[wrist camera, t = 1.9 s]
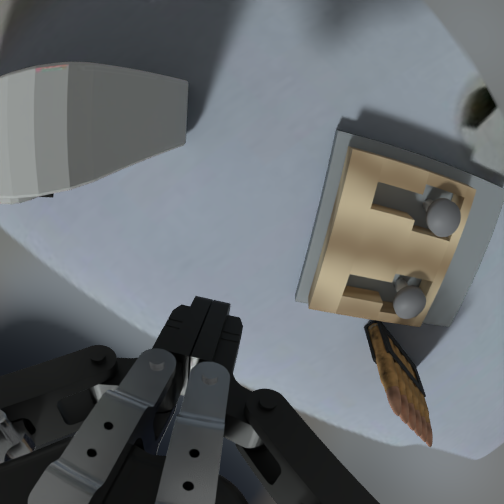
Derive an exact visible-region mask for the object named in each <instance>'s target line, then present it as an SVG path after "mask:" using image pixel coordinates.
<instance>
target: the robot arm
mask: <svg viewBox="0 0 504 504" xmlns="http://www.w3.org/2000/svg"><path fill="white" fill-rule="evenodd" d="M229 311H230V303H225V302H221V301H216V300H212V299H207V298H203V297H198V296H196V297H195V298H194V300H193V302H192V304H191V306H186V305H180V306H179V307H177V308H176V309H174V310H173V311H172V313H171V315H170V317H169V319H168V320H167V322H166V324H165V326H164V327H163V329H162V331H161V333H160V335H159V337H158V338H157V340H156V342H155V344H154V346H153V348H152V349H149V350H146V351H144V352H143V353H141V355H140V356H139V357H138V358H116V354H115V352H114V351H113V350H112V349H110V348H109V347H107V346H103V345H95V346H90V347H88V348H85V349H82V350H79V351H76V352H73V353H70V354H67V355H65V356H61V357H58V358H55V359H52V360H50V361H46V362H43V363H40V364H38V365H34V366H31V367H28V368H25V369H22V370H19V371H16V372H13V373H9V374H6V375H3V376H0V504H248V502H247V501H246V499H245V497H244V496H243V494H242V493H241V492H240V491H239V489H238V488H237V487H236V486H235V485H234V484H232V483H231V482H230V481H229V480H227V479H226V478H224V477H223V476H221V475H219V467H220V459H221V451H222V443H223V437H225V438H227V439H229V440H231V441H233V442H235V443H236V447H237V449H238V450H239V452H240V453H241V455H242V456H243V458H244V459H245V461H246V462H247V463H248V465H249V466H250V468H251V469H252V471H253V472H254V473H255V475H256V476H257V478H258V479H259V480H260V482H261V483H262V485H263V486H264V487H265V489H266V490H267V491H268V492H269V494H270V495H271V497H272V498H273V499H274V501H275V502H276V503H277V504H380V503H379V502H378V501H377V500H376V499H375V498H374V497H373V496H372V495H371V494H370V493H369V492H368V491H367V490H366V489H365V488H364V487H363V486H362V485H361V484H360V483H359V482H358V481H357V479H356V478H355V477H354V476H353V475H352V474H351V473H350V472H349V471H348V470H347V469H346V468H345V467H344V466H343V465H342V463H340V461H339V460H338V459H337V458H336V457H335V456H334V455H333V454H332V452H331V451H330V450H329V449H328V448H327V447H326V446H325V445H324V444H323V442H322V441H321V440H320V439H319V438H318V437H317V436H316V435H315V433H314V432H313V431H312V430H311V429H310V427H309V426H308V425H307V424H306V423H305V422H304V420H303V419H302V418H301V417H300V416H299V415H298V413H297V412H296V411H295V410H294V409H293V407H292V406H291V405H290V404H289V403H288V401H287V400H286V399H285V398H284V397H283V396H282V395H281V394H280V393H278V392H276V391H274V390H271V389H258V390H255V391H253V392H252V391H250V390H248V389H246V388H244V387H243V386H241V385H240V384H239V383H238V382H237V381H236V380H235V378H234V376H233V371H234V367H235V362H236V358H237V354H238V349H239V344H240V339H241V334H242V329H243V325H242V322H241V319H240V318H239V317H234V316H230V315H229ZM85 389H86V390H85ZM83 390H84V391H83ZM80 391H81V392H80ZM75 393H76V394H75ZM72 394H73V395H72ZM69 395H70V396H69ZM180 395H184V399H183V403H182V407H181V411H180V414H179V415H177V417H176V420H175V424H174V428H173V432H172V436H171V440H170V444H169V448H168V452H167V456H159V455H157V450H158V446H159V444H160V441H161V439H162V437H163V435H164V433H165V431H166V429H167V427H168V425H169V423H170V420H171V419H172V416H173V414H174V412H175V410H176V404H177V401H178V399H179V396H180ZM67 396H68V397H67ZM64 397H65V398H64ZM76 431H77V433H76V434H75V436H72V437H68V438H65V439H63V440H60V441H58V442H55V443H53V444H51V445H48V446H46V447H43V448H41V449H38V450H36V451H34V450H35V447H36V446H39V445H42V444H44V443H47V442H50V441H53V440H55V439H58V438H61V437H63V436H66V435H69V434H71V433H74V432H76Z"/></svg>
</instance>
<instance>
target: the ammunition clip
mask: <svg viewBox="0 0 504 504" xmlns="http://www.w3.org/2000/svg"><path fill="white" fill-rule="evenodd" d="M364 329H365V332H366V336H367V340H368V343H369V347H370V351H371V354H372V358H373V361H374V362H375V363H376V364H377V367H378V371H379V375H380V379H381V382H382V384H383V386H384V388H385V392H386V394H387V398H388V401H389V404H390V406H391V408H392V410H393V412H394V413H395V414H396V415H397V416H400V418H401V419H402V421H403V422H404V423H405V424H408V426H409V427H410V429H411V430H414V432H415V433H416V434H417V435H418V436H420V437H421V439H422V440H423V441H424V442H426V444H427V445H428V446H429V447H431V446H432V438H433V437H432V429H431V425H430V419H429V411H428V408H427V404H426V401H425V398H424V397H426V395H425V392H424V389H423V386H422V383H421V380H420V377H419V374H418V371H417V369H416V366H415V365H414V364H413V362H412V361H411V360H410V358H409V357H408V356H407V354H406V353H405V352H404V350H403V349H402V348H401V347H400V345H399V344H398V343H397V341H396V340H395V339H394V337H393V336H392V335H391V334H390V332H389V331H388V330H387V329H386V327H385V326H384V325H383V323H382V322H381V321H377V320H374V321H373V322H371V323H370V324H368V325H366V326H365V327H364Z"/></svg>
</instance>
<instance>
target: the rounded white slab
mask: <svg viewBox="0 0 504 504" xmlns="http://www.w3.org/2000/svg"><path fill="white" fill-rule="evenodd" d="M188 86H189V83H188V82H187V80H183V79H178V78H174V77H170V76H165V75H161V74H156V73H152V72H147V71H142V70H136V69H131V68H125V67H119V66H113V65H107V64H100V63H92V62H59V63H50V64H42V65H36V66H32V67H28V68H24V69H20V70H17V71H13V72H10V73H7V74H5V75H2V76H0V204H18V203H22V202H25V201H29V200H32V199H34V198H36V197H53V194H54V193H58V192H63V191H68V190H71V189H74V188H77V187H80V186H83V185H86V184H89V183H92V182H95V181H97V180H99V179H101V178H103V177H106V176H108V175H110V174H112V173H115V172H117V171H119V170H122V169H124V168H127V167H129V166H131V165H134V164H136V163H139V162H141V161H144V160H146V159H149V158H151V157H154V156H156V155H159V154H162V153H164V152H167V151H170V150H172V149H175V148H178V147H181V146H183V145H184V144H185V143H186V126H187V104H188Z"/></svg>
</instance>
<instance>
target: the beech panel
mask: <svg viewBox="0 0 504 504" xmlns="http://www.w3.org/2000/svg"><path fill="white" fill-rule="evenodd" d="M378 182H381V183H385V184H388V185H392V186H395V187H399V188H402V189H405V190H409V191H412V192H415V193H419V194H422V195H423V193H424V190H425V187H426V184H427V185H430V186H433V187H436V188H439V189H442V190H445V191H448V192H451V193H453V197H452V200H451V201H452V202H454V203H455V204H456V205H457V206H458V207H459V209H460V213H461V221H460V224H459V226H458V228H457V230H456V231H455V232H454V233H453V234H451V235H450V236H447V237H439V236H437V235H435V234H434V233H433V232H432V231H431V230H430V229H427V228H423V227H419V226H416V225H414V222H415V220H414V219H413V218H412V217H411V216H410V215H409V214H408V213H406V212H403V211H399V210H396V209H392V208H388V207H384V206H381V205H377V204H373V203H372V202H373V198H374V195H375V191H376V188H377V184H378ZM475 193H476V189H474V188H472V187H471V186H469V185H467V184H465V183H462V182H460V181H457V180H454V179H452V178H449V177H446V176H444V175H441V174H438V173H435V172H432V171H429V170H427V169H424V168H421V167H418V166H415V165H412V164H408V163H405V162H402V161H399V160H396V159H393V158H389V157H386V156H382V155H379V154H376V153H372V152H369V151H365V150H361V149H358V148H354V147H350V146H348V149H347V153H346V158H345V162H344V166H343V170H342V175H341V179H340V183H339V187H338V191H337V195H336V199H335V203H334V207H333V210H332V214H331V218H330V222H329V226H328V229H327V233H326V237H325V240H324V244H323V247H322V251H321V254H320V258H319V261H318V265H317V268H316V272H315V275H314V278H313V282H312V285H311V288H310V292H309V295H308V304H309V309H313V310H319V311H324V312H330V313H336V314H341V315H347V316H353V317H359V318H365V319H371V320H377V321H383V322H389V323H396V324H402V325H409V326H416V327H420V326H421V324H422V323H423V321H424V319H425V317H426V315H427V313H428V311H429V309H430V307H431V305H432V303H433V301H434V298H435V296H436V294H437V292H438V290H439V288H440V286H441V283H442V281H443V279H444V277H445V274H446V272H447V270H448V267H449V265H450V263H451V260H452V258H453V255H454V253H455V250H456V248H457V245H458V243H459V240H460V238H461V235H462V232H463V229H464V227H465V224H466V221H467V218H468V215H469V212H470V209H471V206H472V203H473V200H474V197H475ZM350 274H352V275H357V276H362V277H366V278H371V279H376V280H381V281H386V282H391V283H392V281H393V279H394V276H395V274H400V275H404V276H409V277H414V278H418V279H422V281H421V283H420V285H419V288H420V289H421V290H422V292H423V293H424V295H425V297H426V305H425V308H424V309H423V311H422V312H421V313H420V314H419V315H417V316H416V317H414V318H410V319H403V318H400V317H399V316H398V315H397V314H396V312H395V310H394V307H393V303H391V302H386V301H382V299H381V297H380V294H379V292H377V291H372V290H367V289H362V288H356V287H351V286H346V284H347V281H348V278H349V275H350Z"/></svg>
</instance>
